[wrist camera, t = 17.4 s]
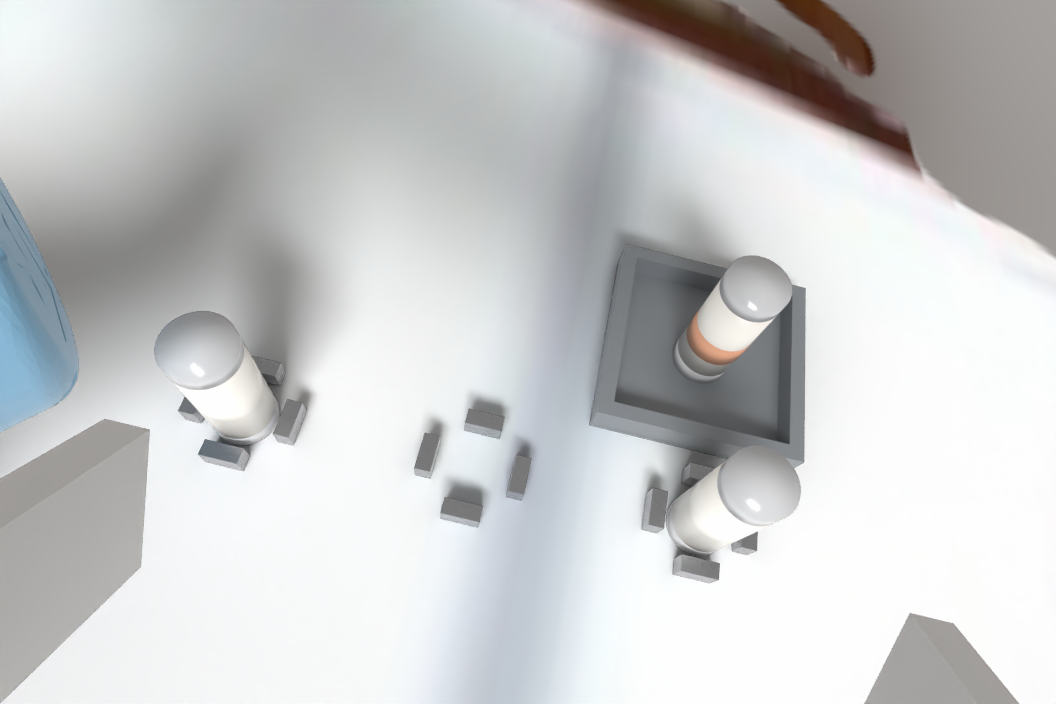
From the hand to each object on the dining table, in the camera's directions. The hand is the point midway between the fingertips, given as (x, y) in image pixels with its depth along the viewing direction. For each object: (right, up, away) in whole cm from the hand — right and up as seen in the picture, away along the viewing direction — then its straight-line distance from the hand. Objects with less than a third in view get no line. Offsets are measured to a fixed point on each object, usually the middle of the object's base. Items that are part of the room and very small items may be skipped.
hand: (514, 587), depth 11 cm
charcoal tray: (+13, +3, +37) cm, 39 cm away
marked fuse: (+13, +4, +36) cm, 39 cm away
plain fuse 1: (-18, 0, +31) cm, 36 cm away
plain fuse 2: (+11, -7, +31) cm, 34 cm away
